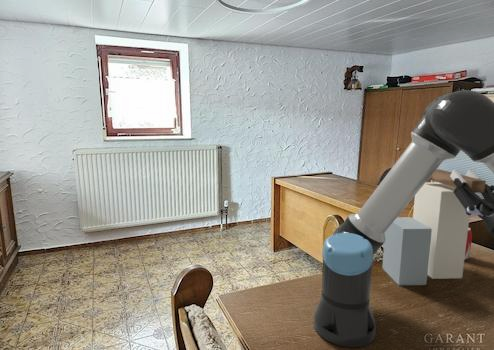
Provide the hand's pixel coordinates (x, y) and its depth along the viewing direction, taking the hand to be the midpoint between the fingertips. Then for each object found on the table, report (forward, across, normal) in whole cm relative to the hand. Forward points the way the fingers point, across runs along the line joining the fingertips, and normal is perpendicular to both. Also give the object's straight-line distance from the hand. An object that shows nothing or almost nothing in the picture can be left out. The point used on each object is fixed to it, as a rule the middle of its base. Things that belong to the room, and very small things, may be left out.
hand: (460, 173), depth 100 cm
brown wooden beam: (0, 0, -5) cm, 5 cm away
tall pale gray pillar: (-16, -14, -32) cm, 39 cm away
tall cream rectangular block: (-11, 0, -35) cm, 37 cm away
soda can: (-4, +15, -40) cm, 43 cm away
